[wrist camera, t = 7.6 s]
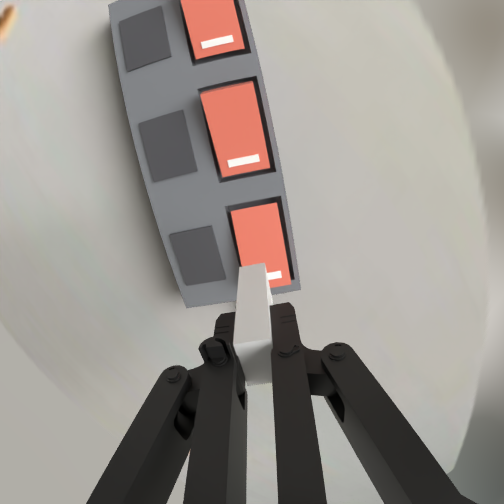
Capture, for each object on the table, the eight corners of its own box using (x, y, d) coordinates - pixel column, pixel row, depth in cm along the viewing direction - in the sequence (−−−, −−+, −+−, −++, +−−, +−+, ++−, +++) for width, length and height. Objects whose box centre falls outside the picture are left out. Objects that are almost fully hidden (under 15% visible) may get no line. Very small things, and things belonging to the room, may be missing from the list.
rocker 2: (223, 170, 28) (222, 177, 26) (202, 91, 23) (199, 94, 21) (268, 161, 27) (270, 168, 26) (252, 80, 22) (253, 83, 21)
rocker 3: (248, 287, 31) (246, 292, 29) (232, 210, 30) (230, 211, 28) (290, 280, 30) (291, 284, 29) (276, 202, 29) (276, 202, 27)
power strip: (211, 340, 40) (207, 361, 36) (123, 14, 22) (107, 4, 18) (304, 326, 39) (308, 347, 35) (236, -19, 21) (234, -36, 17)
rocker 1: (198, 58, 23) (195, 59, 22) (180, -12, 18) (176, -15, 17) (244, 48, 23) (244, 48, 21) (227, -23, 18) (226, -27, 16)
